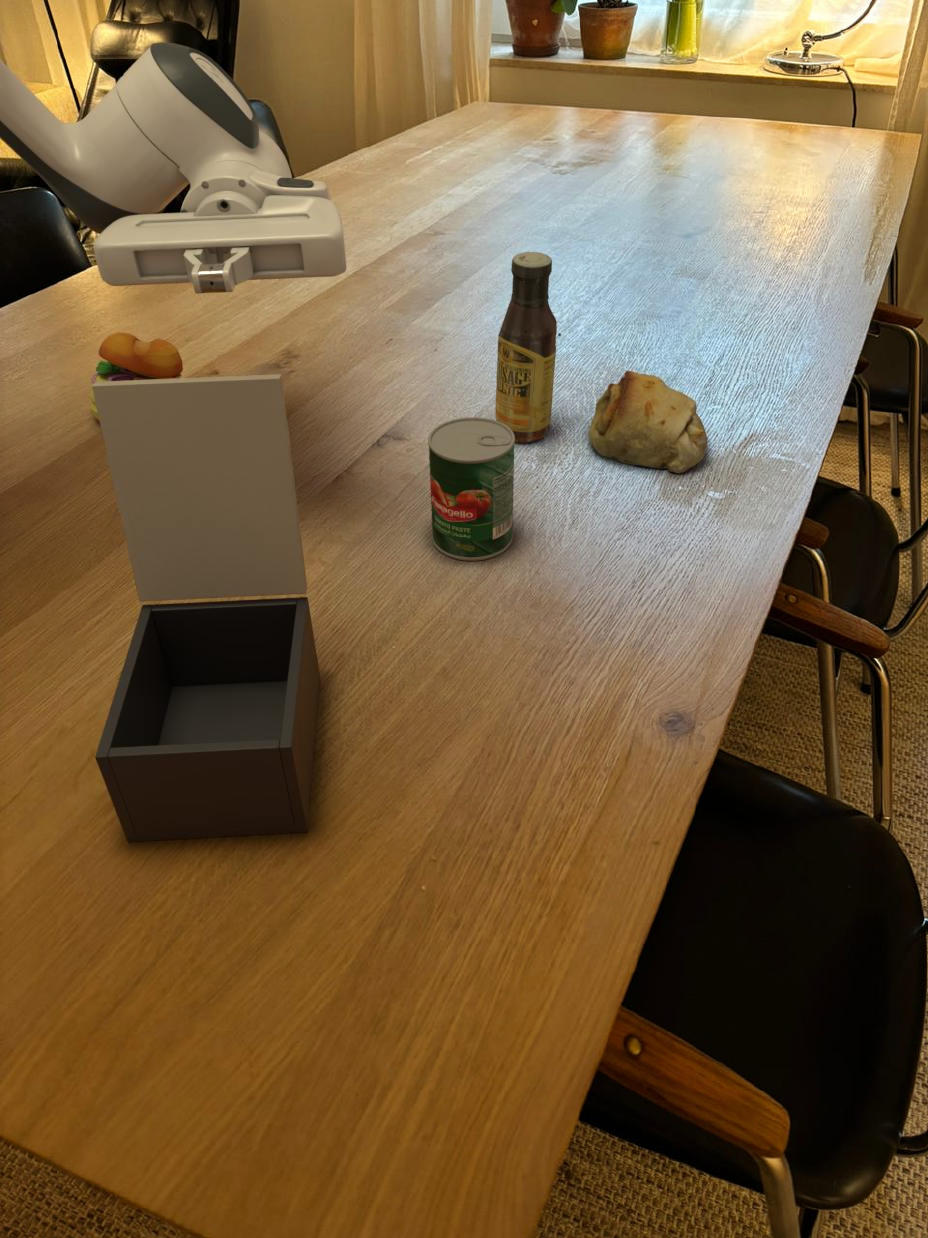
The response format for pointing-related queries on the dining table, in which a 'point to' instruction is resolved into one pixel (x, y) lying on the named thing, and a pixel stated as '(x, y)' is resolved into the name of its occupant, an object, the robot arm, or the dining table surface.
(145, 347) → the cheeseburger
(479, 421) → the canned tomato
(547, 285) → the sauce bottle
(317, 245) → the robot arm
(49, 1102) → the dining table surface
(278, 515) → the box lid
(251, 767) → the open box
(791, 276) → the dining table surface
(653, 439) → the pastry
